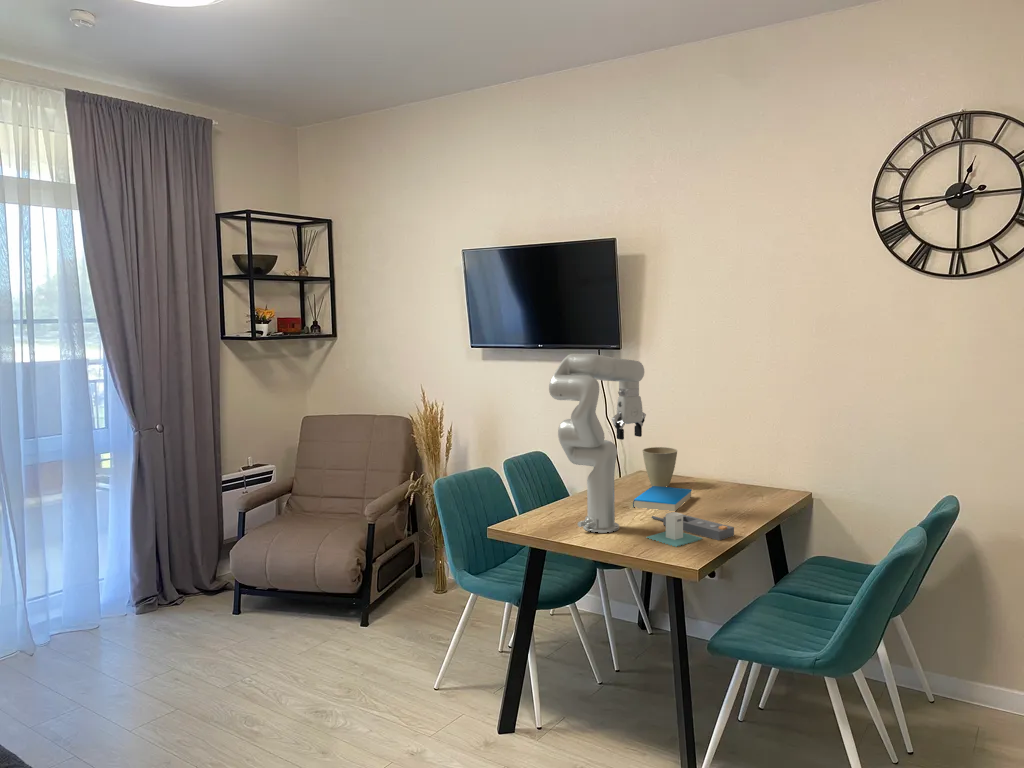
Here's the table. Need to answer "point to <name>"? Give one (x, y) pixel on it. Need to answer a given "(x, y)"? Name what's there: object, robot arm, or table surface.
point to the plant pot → (660, 464)
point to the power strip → (703, 527)
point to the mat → (678, 542)
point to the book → (662, 498)
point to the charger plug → (674, 525)
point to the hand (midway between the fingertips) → (629, 437)
